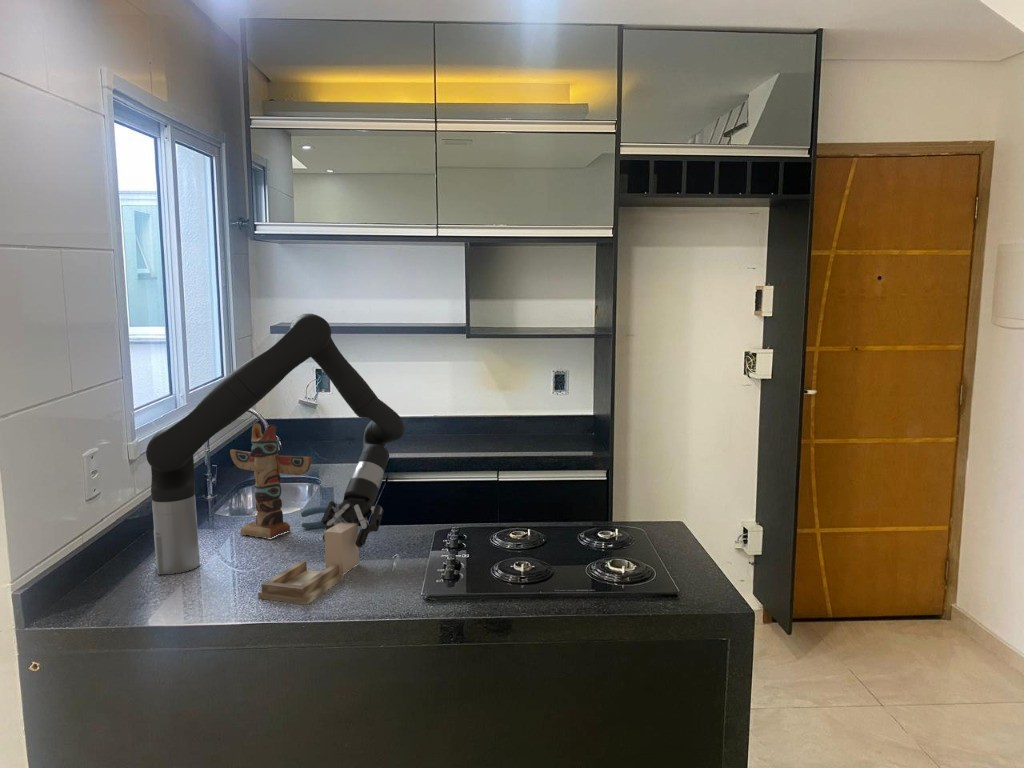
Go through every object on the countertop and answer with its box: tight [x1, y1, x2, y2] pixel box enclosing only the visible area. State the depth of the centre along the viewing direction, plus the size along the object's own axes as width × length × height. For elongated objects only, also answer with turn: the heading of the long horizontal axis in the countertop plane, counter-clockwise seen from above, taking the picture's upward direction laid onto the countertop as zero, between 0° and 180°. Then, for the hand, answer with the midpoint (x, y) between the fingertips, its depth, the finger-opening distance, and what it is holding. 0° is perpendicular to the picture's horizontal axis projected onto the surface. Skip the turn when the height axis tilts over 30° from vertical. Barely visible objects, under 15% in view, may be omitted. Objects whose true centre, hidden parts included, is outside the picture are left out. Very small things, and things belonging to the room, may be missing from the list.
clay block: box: [323, 522, 360, 574], centre depth 164 cm, size 7×4×10 cm, turn 162°
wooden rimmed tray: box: [257, 560, 344, 605], centre depth 153 cm, size 14×12×3 cm
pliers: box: [300, 505, 347, 530], centre depth 198 cm, size 20×2×6 cm, turn 115°
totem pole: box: [229, 422, 312, 538], centre depth 190 cm, size 29×7×30 cm, turn 65°
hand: (342, 544), depth 164 cm, fingers open, 8 cm apart
